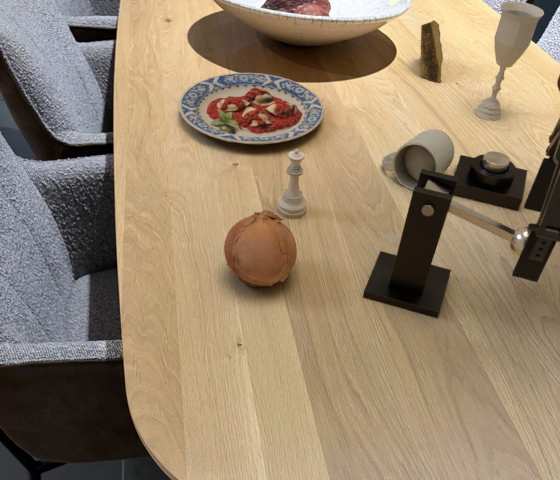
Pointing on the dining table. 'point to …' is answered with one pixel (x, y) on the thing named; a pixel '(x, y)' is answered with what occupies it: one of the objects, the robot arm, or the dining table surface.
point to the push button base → (490, 183)
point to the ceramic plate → (251, 108)
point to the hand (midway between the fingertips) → (530, 241)
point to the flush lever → (485, 221)
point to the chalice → (509, 47)
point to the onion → (260, 249)
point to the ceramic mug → (420, 157)
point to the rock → (431, 51)
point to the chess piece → (293, 189)
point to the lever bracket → (416, 253)
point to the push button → (495, 162)
